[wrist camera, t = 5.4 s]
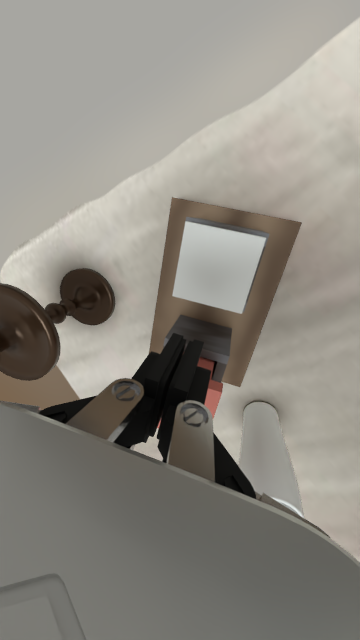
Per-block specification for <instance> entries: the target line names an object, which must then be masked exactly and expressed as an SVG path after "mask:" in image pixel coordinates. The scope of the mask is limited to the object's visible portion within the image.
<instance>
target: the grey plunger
mask: <svg viewBox="0 0 360 640" xmlns="http://www.w3.org/2000/svg"><path fill="white" fill-rule="evenodd" d="M265 241H266V238H265V237H261V236H257V235H252V234H247V233H242V232H237V231H233V230H228V229H223V228H218V227H213V226H209V225H204V224H199V223H194V222H189V221H185V227H184V232H183V238H182V244H181V249H180V255H179V261H178V266H177V272H176V278H175V283H174V289H173V295H172V296H174V297H178V298H182V299H186V300H189V301H193V302H197V303H201V304H205V305H209V306H213V307H217V308H220V309H224V310H228V311H232V312H236V313H240V314H242V312H243V309H244V305H245V302H246V299H247V296H248V293H249V290H250V287H251V284H252V281H253V278H254V275H255V271H256V268H257V265H258V262H259V259H260V256H261V253H262V250H263V247H264V244H265Z"/></svg>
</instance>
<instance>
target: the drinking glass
mask: <svg viewBox="0 0 360 640" xmlns="http://www.w3.org/2000/svg"><path fill="white" fill-rule="evenodd" d="M238 466H239V468H240V469H241V470H242V472H243V473H244V474H245V476H246V477H247V479H248V480H249V481H250V483H251V485H252V486H253V488H254V491H255V492H257V493H258V494H260V495H262V493H265V494H266V495H268V496H269V497H271V498H273V499H274V500H276V501H277V502H279V503H280V504H282V505H284V506H285V507H287V508H288V509H290V510H292V511H293V512H295V513H296V514H298V515H300V516H301V517H303V518H304V513H303V507H302V501H301V496H300V491H299V487H298V483H297V479H296V475H295V472H294V468H293V465H292V462H291V459H290V455H289V452H288V449H287V446H286V442H285V439H284V436H283V432H282V429H281V426H280V422H279V417H278V413H277V411H276V410H275V408H274V407H273V406H271V405H270V404H268V403H265V402H253V403H250V404H249V405H247V406H246V408H245V409H244V412H243V427H242V437H241V447H240V456H239V465H238Z"/></svg>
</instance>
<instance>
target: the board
mask: <svg viewBox="0 0 360 640" xmlns="http://www.w3.org/2000/svg"><path fill="white" fill-rule="evenodd" d="M185 221H189V222H194V223H199V224H204V225H209V226H213V227H218V228H223V229H228V230H233V231H237V232H242V233H247V234H252V235H257V236H261V237H265V238H266V241H265V244H264V247H263V250H262V253H261V256H260V259H259V262H258V265H257V268H256V271H255V275H254V278H253V281H252V284H251V287H250V290H249V293H248V296H247V299H246V302H245V305H244V309H243V312H242V314H240V313H236V312H232V311H228V310H224V309H220V308H217V307H213V306H209V305H205V304H201V303H197V302H193V301H189V300H186V299H182V298H178V297H174V296H172V295H173V289H174V283H175V278H176V272H177V266H178V261H179V255H180V249H181V244H182V238H183V232H184V227H185ZM300 226H301V222H296V221H291V220H286V219H281V218H276V217H270V216H265V215H260V214H255V213H250V212H245V211H240V210H234V209H229V208H224V207H219V206H214V205H209V204H204V203H198V202H193V201H188V200H183V199H178V198H173V197H172V202H171V208H170V215H169V222H168V229H167V235H166V242H165V249H164V256H163V262H162V269H161V276H160V283H159V289H158V296H157V303H156V310H155V316H154V323H153V330H152V337H151V343H150V350H149V353H150V352H151V351H153V352H156V353H159V354H160V353H161V352H162V350H163V349H164V347H165V345H166V344H167V342H168V341H169V339H170V337H171V336H172V334H173V333H176V334H179V335H183V339H186V344H185V348H184V352H185V349H186V347H187V345H188V343H189V341H194V339H196V340H199V341H202V342H204V345H203V348H202V351H201V355H200V357H203V358H207V359H210V360H213V361H214V366H213V371H212V377H211V380H213V381H216V382H220V383H221V381H222V382H225V383H228V384H232V385H235V386H238V387H240V386H241V383H242V380H243V378H244V375H245V372H246V370H247V367H248V364H249V362H250V359H251V357H252V354H253V351H254V349H255V346H256V343H257V341H258V338H259V335H260V333H261V330H262V327H263V325H264V322H265V319H266V317H267V314H268V311H269V309H270V306H271V303H272V301H273V298H274V295H275V293H276V290H277V287H278V285H279V282H280V279H281V277H282V274H283V271H284V269H285V266H286V263H287V261H288V258H289V255H290V253H291V250H292V247H293V245H294V242H295V239H296V237H297V234H298V231H299V229H300Z"/></svg>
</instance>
